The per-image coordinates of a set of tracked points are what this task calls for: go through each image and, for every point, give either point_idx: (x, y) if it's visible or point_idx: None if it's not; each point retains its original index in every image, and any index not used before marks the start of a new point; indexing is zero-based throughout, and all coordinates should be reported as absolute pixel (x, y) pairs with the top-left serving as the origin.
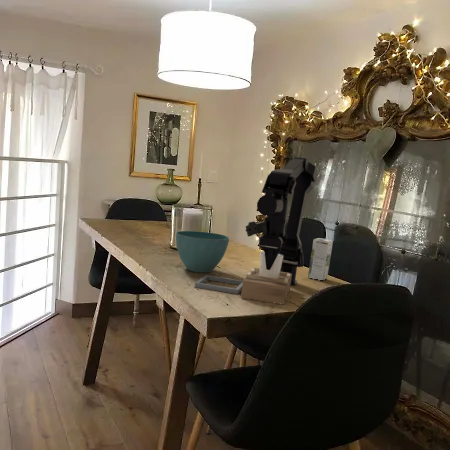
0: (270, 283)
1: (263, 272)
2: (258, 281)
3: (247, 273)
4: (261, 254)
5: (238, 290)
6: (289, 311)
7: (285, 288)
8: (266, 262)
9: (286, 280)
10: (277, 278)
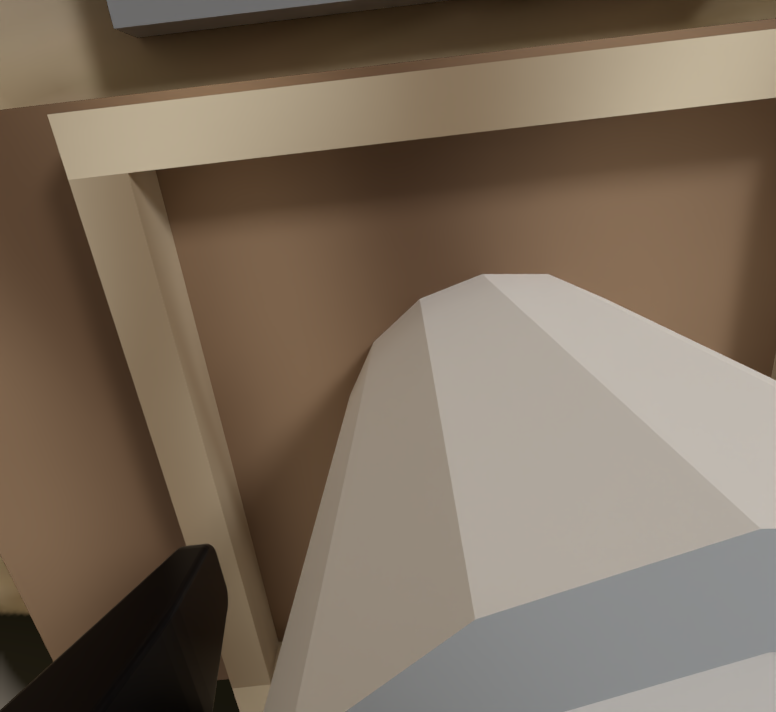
0: (71, 534)
1: (351, 405)
2: (6, 381)
3: (137, 106)
4: (419, 621)
5: (118, 29)
6: (2, 608)
7: None
8: (44, 694)
9: (240, 707)
10: (246, 612)
